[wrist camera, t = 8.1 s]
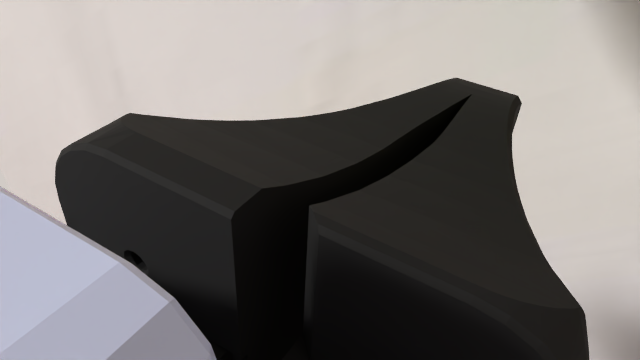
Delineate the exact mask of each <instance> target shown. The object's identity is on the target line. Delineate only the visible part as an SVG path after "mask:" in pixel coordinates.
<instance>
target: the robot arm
mask: <svg viewBox="0 0 640 360" xmlns="http://www.w3.org/2000/svg"><path fill="white" fill-rule="evenodd" d="M521 104H522V103H521V101H520V99H519V97H518V96H517V95H513V94H510V93H507V92H503V91H500V90H496V89H493V88H490V87H486V86H483V85H479V84H476V83H473V82H469V81H466V80H462V79H459V78H453V79H449V80H445V81H442V82H439V83H436V84H433V85H429V86H426V87H423V88H420V89H417V90H414V91H411V92H408V93H405V94H402V95H399V96H396V97H393V98H389V99H385V100H382V101H378V102H374V103H371V104H367V105H363V106H359V107H356V108H352V109H347V110H342V111H337V112H332V113H326V114H320V115H313V116H306V117H297V118H284V119H270V120H255V121H219V120H194V119H182V118H171V117H161V116H150V115H141V114H133V113H129V114H126V115H124V116H122V117H121V118H119V119H117V120H115V121H113V122H112V123H110V124H108V125H106V126H104V127H102V128H100V129H99V130H97V131H95V132H93V133H91V134H89V135H87V136H85V137H83V138H82V139H80V140H78V141H76V142H74V143H72V144H71V145H69V146H67V147H66V148H64V149H63V150H62V151H61V153H60V155H59V157H58V160H57V162H56V171H55V184H56V188H57V193H58V197H59V201H60V204H61V207H62V210H63V213H64V216H65V220H66V223H67V225H65V224H64V223H62V222H60V221H58V220H57V219H55V218H53V217H52V216H50V215H48V214H47V213H45V212H43V211H41V210H40V209H38V208H36V207H35V206H33V205H31V204H30V203H28V202H26V201H24V200H23V199H21V198H19V197H18V196H16V195H14V194H13V193H11V192H9V191H7V190H6V189H4V188H2V187H1V186H0V360H589V347H588V337H587V327H586V319H585V313H584V311H583V309H582V307H581V306H580V305H579V303H578V302H577V301H576V300H575V298H574V297H573V296H572V294H571V293H570V292H569V290H568V289H567V288H566V286H565V285H564V284H563V283H562V281H561V280H560V279H559V277H558V276H557V275H556V273H555V272H554V271H553V269H552V268H551V266H550V265H549V263H548V262H547V260H546V258H545V257H544V255H543V253H542V251H541V249H540V247H539V245H538V242H537V240H536V238H535V236H534V234H533V232H532V230H531V227H530V225H529V223H528V221H527V218H526V215H525V212H524V209H523V206H522V204H521V200H520V197H519V193H518V189H517V185H516V180H515V174H514V167H513V159H512V132H513V129H514V126H515V123H516V120H517V117H518V113H519V110H520V107H521Z"/></svg>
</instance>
